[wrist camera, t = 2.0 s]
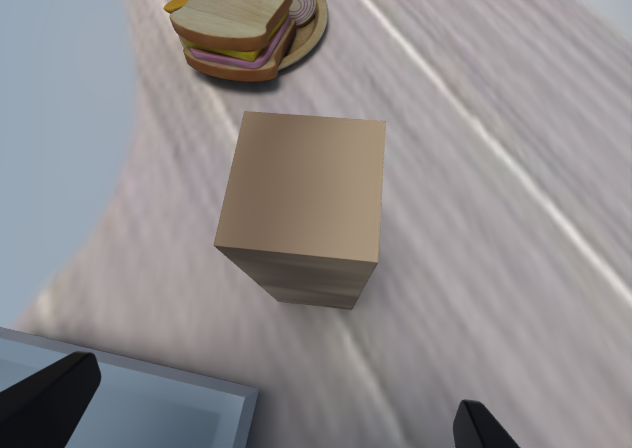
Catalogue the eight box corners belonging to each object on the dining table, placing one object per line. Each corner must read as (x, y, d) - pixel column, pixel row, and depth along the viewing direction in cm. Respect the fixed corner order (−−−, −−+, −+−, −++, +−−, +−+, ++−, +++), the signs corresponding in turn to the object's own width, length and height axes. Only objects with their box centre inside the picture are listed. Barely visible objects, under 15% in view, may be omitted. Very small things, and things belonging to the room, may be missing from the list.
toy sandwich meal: (352, 0, 29) (355, -61, 25) (278, 116, 26) (266, 67, 21) (231, -37, 32) (215, -99, 27) (147, 64, 28) (112, 10, 23)
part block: (357, 238, 22) (385, 121, 10) (351, 309, 20) (377, 262, 9) (288, 231, 22) (244, 111, 11) (277, 301, 20) (213, 245, 9)
